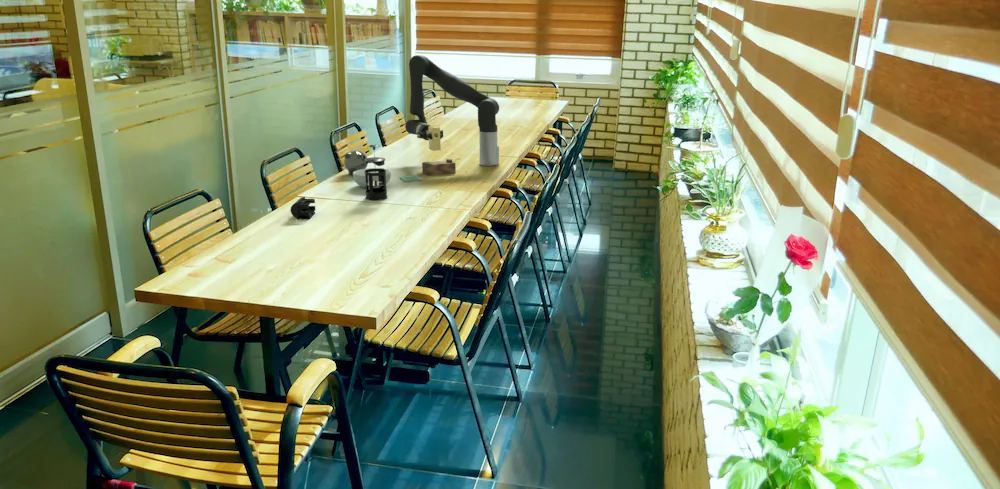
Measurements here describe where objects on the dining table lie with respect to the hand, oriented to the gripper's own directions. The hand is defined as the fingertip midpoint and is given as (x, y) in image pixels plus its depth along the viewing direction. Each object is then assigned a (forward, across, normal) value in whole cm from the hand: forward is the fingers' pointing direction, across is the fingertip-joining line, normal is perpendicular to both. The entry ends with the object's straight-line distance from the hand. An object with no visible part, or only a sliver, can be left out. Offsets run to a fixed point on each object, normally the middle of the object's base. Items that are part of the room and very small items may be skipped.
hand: (436, 137), depth 365 cm
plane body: (-3, +2, +18) cm, 19 cm away
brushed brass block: (-3, 0, +6) cm, 7 cm away
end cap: (+49, -72, +18) cm, 89 cm away
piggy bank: (-15, -36, +18) cm, 44 cm away
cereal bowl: (+12, -35, +18) cm, 42 cm away
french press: (+32, -38, +18) cm, 53 cm away
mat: (+5, -15, +18) cm, 24 cm away
